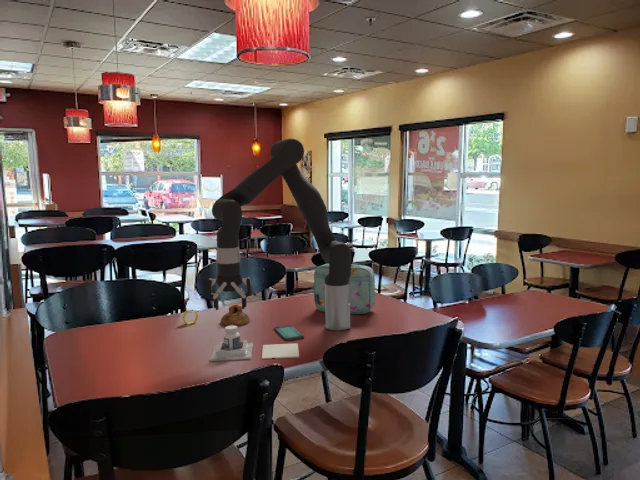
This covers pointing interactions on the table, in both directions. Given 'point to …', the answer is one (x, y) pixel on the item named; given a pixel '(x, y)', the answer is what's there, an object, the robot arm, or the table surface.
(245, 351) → the square frame
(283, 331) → the smartphone
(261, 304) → the table surface
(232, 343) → the pill bottle
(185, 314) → the yellow ring
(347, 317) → the robot arm
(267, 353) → the mat
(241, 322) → the bell
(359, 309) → the lunch box
